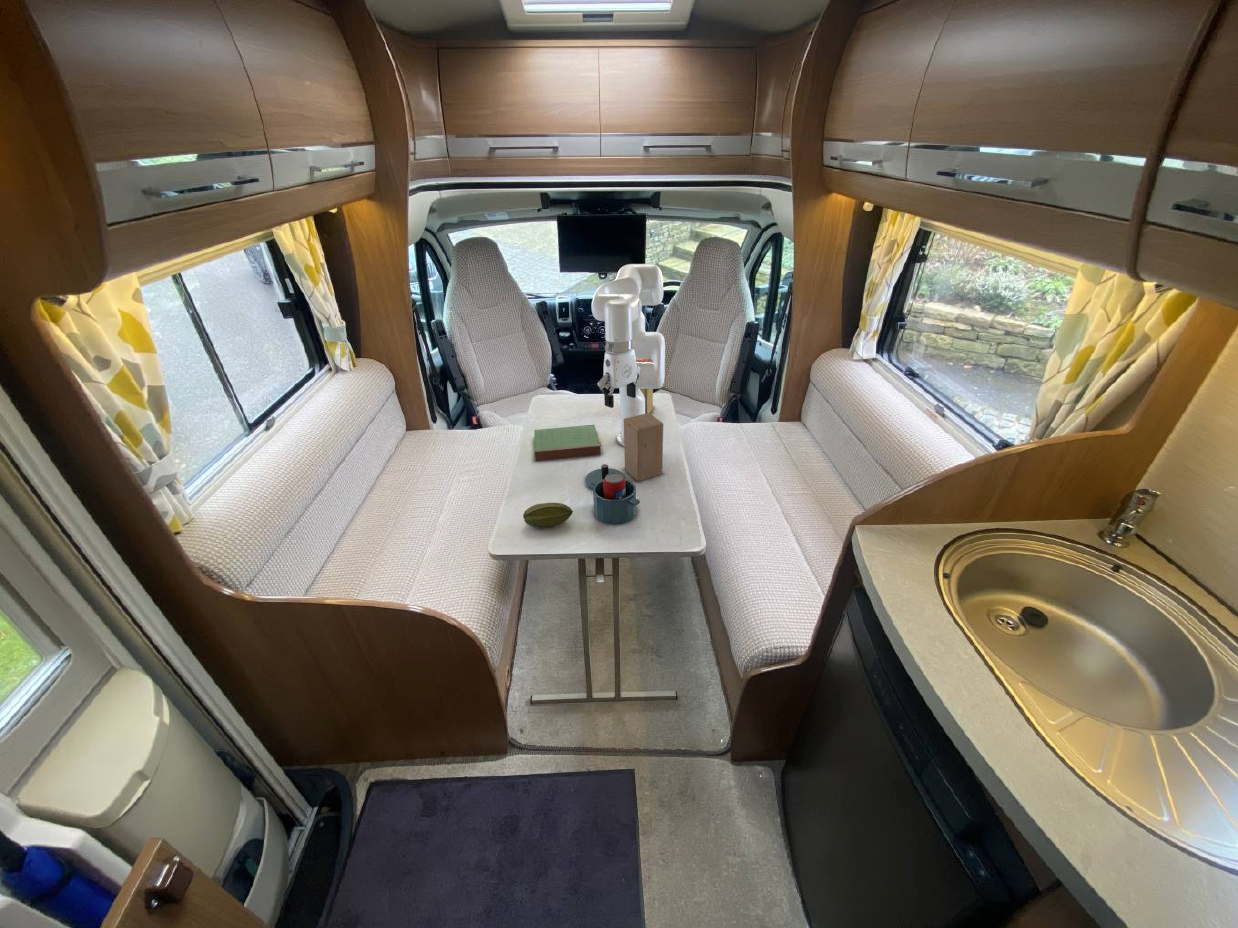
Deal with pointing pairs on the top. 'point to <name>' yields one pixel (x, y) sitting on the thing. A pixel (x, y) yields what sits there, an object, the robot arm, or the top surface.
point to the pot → (614, 504)
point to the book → (566, 442)
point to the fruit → (547, 514)
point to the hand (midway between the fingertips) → (620, 401)
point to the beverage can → (614, 487)
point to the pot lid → (600, 474)
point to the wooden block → (643, 446)
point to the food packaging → (647, 391)
